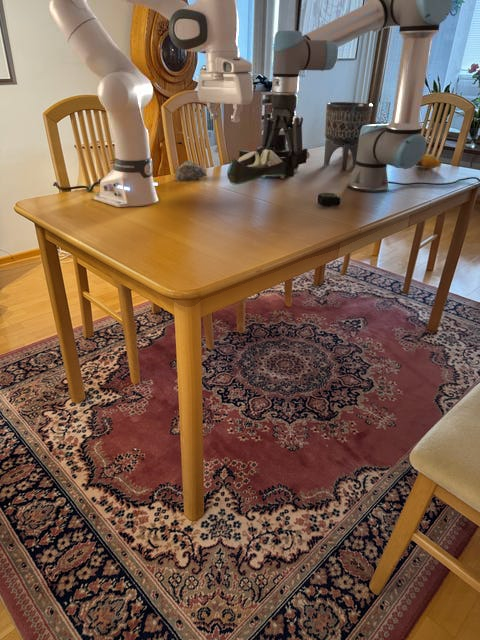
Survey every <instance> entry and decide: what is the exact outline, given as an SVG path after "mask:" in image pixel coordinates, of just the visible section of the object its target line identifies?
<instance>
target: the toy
mask: <svg viewBox="0 0 480 640" xmlns="http://www.w3.org/2000/svg"><path fill="white" fill-rule="evenodd" d="M441 165H442V162H441V160H437V159H436V157H435V156H434V155H432V154H424V155H423V157H422V159H421V160H420V161H419V162H418V163H417V164H416V165H415V166H416V167H417V166H418V167H422V168H423V169H426V170H432V169H435V168H438V167H440V166H441Z"/></svg>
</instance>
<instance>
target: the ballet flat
mask: <svg viewBox="0 0 480 640" xmlns="http://www.w3.org/2000/svg"><path fill="white" fill-rule="evenodd" d="M256 151H257V150H256ZM256 151H255V150H254V151H251V152H250V153H247V154H245V155H243V156H241V157H240V158H238V159H236V158H232V159H231V161H230V162H229V165H228V169H227V173H226V175H227V176H226V177H227V179H228V181H229V184H232V185H242V184H246V183H249V182H251V181H252V182H253V181H255V180H257V179H259V178H261V177H262V176H263V175H271V176H270V177H280V176H284V177H286V167H287V164H286V163H285V162H284V161H283V160H281V159H279V157H278V156H277V155H276V154H275V153H274V152H273V151H272V150H267V149H265V150H263V151H262V154H261V156H260V157H259V154H258V152H256ZM254 154H255V155H256V160H255V163H252V164H242V163H240V162H242V161H244V160H246V159H248V158H250V157H252V156H253V155H254ZM260 158H261V160H260Z"/></svg>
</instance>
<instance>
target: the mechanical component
mask: <svg viewBox="0 0 480 640" xmlns="http://www.w3.org/2000/svg"><path fill="white" fill-rule="evenodd" d="M266 143H267V142H266ZM274 147H275V149H273V150H276V155H277V156H278V157H279V159H281V160H283V161H284V162H285V163H286V164H287V155H288V154H289V149H288V144H287V139H286V135H285V132H284V131H283V129H281V130H280V132H279V135H278V138H277V141H276V143H275V146H274ZM265 149H266V148H265V147H262V145H261V146H258V147H257V148H256V152H258V154H259V157H260V156H261V154H262V151H263V150H265ZM302 150H303V151H302V153H299V154H297V157H296V165H295V166H294V174H295V173H298V171H299V167H300V165H303V164H304V165H305V164H307V160H309V158H310V156H311V154H310V152H309V151H308V148H304V147H302ZM250 152H252V151H250V150H245V149H241V150H239V153H238V154H239V155H238V157H239V158H240V157H241V156H243V155H245V154H247V153H250ZM239 158H238V159H239ZM255 160H256V155H255V154H254V155H253V156H252V157H250V158H248V159H246V160H244V161H242V162H240V163H242V164H252V163H255ZM260 160H261V158H260ZM261 177H262V178H267V177H272V176H271V175H263V176H261ZM279 178H280V179H285V176H279Z"/></svg>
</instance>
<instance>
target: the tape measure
mask: <svg viewBox="0 0 480 640" xmlns="http://www.w3.org/2000/svg"><path fill="white" fill-rule="evenodd" d="M341 203H342V201H341V197H340V196H338V194H336V193H332V192H321V193H319V194H318V195H317V205H319V206H322V207H326V208H330V207H339V206H340V205H341Z"/></svg>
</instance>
